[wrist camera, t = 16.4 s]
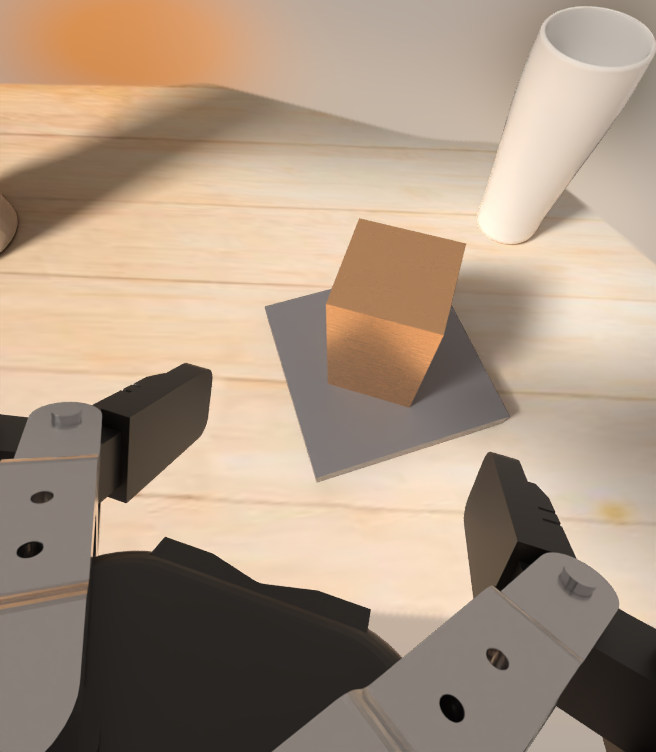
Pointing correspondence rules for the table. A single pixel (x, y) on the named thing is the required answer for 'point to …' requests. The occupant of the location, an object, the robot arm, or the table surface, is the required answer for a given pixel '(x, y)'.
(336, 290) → the wooden block
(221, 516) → the table surface
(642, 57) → the drinking glass
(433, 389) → the post base
